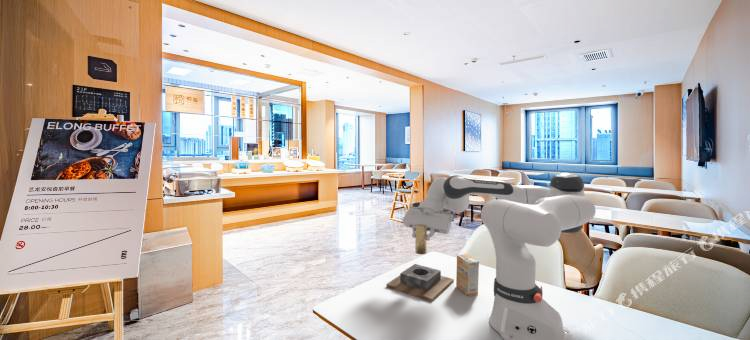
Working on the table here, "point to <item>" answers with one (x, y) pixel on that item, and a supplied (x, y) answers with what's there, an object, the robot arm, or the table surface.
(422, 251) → the brass plug
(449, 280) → the socket board
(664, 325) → the table surface
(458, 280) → the supplement box
